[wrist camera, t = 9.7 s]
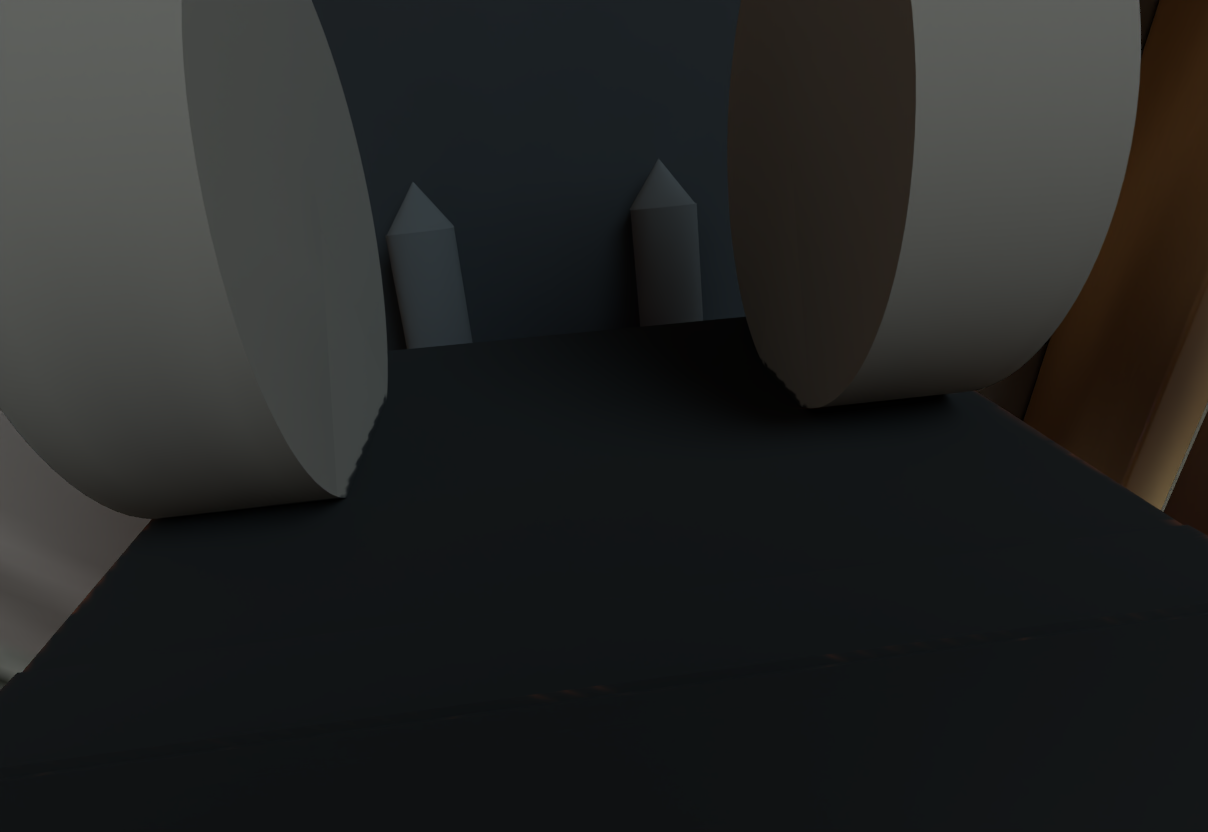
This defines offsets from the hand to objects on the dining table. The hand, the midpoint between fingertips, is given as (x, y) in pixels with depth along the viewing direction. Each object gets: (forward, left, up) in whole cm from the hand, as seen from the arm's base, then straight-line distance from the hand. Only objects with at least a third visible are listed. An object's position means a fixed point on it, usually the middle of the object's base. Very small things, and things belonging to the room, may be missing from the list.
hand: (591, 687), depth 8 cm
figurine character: (0, 0, -3) cm, 3 cm away
